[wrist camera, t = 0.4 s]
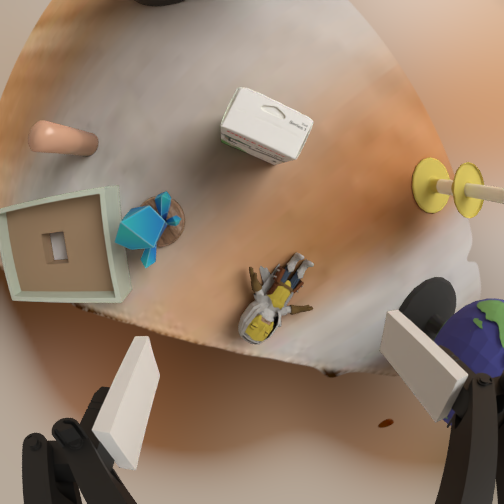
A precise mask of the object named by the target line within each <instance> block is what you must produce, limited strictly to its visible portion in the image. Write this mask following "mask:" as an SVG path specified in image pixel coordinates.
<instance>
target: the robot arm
mask: <svg viewBox="0 0 504 504" xmlns="http://www.w3.org/2000/svg"><path fill="white" fill-rule="evenodd" d="M135 1H136V2H138V3H141V4H144V5H151V6H160V5H168V4H173V3H177V2H181V1H184V0H135ZM380 352H381V353H382V354H383V355H384V357H385V358H386V359H387V360H388V362H389V363H390V364H391V365H392V367H393V368H394V369H395V370H396V372H397V373H398V374H399V376H400V377H401V378H402V379H403V381H404V382H405V383H406V384H407V386H408V387H409V388H410V390H411V391H412V392H413V394H414V395H415V396H416V397H417V399H418V400H419V401H420V403H421V404H422V405H423V407H424V408H425V409H426V410H427V412H428V413H429V415H430V416H431V417H432V418H433V420H434V421H435V422H438V421H440V420H442V419H444V418H446V417H447V416H448V414H449V412H450V410H451V409H453V411H454V412H455V413H454V414H453V416H452V418H451V420H450V421H449V423H448V425H447V428H448V427H449V426H450V424H451V423H452V425H451V434H450V440H449V447H448V452H447V458H446V463H445V467H444V472H443V477H442V480H441V485H440V489H439V492H438V495H437V499H436V502H435V504H492V501H493V494H494V488H495V479H496V484H497V496H498V504H504V370H503V372H502V374H501V376H498V377H494V378H492V377H491V376H490V375H488V374H486V373H477V374H475V373H474V372H473V371H472V370H471V369H470V368H469V367H468V366H467V365H466V364H465V363H464V362H463V361H461V360H459V358H458V357H457V356H456V355H454V353H453V352H452V351H451V350H450V349H448V348H446V347H444V346H442V345H439V346H438V345H437V344H436V343H435V342H434V341H432V340H431V339H430V338H429V337H428V336H427V335H426V334H425V333H424V332H423V331H421V330H420V329H419V328H418V327H417V326H416V325H415V324H414V323H412V322H411V321H410V320H409V319H408V318H407V317H406V316H405V315H403V314H402V313H401V312H400V311H399V310H398V309H397V310H392V311H387V314H386V320H385V326H384V331H383V336H382V341H381V346H380ZM159 377H160V374H159V371H158V368H157V365H156V361H155V358H154V355H153V351H152V348H151V344H150V340H149V337H148V336H136V337H135V338H134V340H133V342H132V344H131V346H130V348H129V350H128V352H127V354H126V356H125V358H124V360H123V362H122V364H121V366H120V368H119V370H118V372H117V374H116V377H115V379H114V381H113V383H112V385H111V387H110V388H109V387H101V388H100V389H99V390H98V391H97V392H96V393H95V394H94V396H93V398H92V400H91V403H90V404H89V406H88V409H87V410H86V412H85V414H84V416H83V418H82V420H81V423H80V424H79V423H78V422H77V421H76V420H75V419H73V418H63V419H60V420H59V421H57V422H56V423H55V424H54V425H53V428H52V435H53V437H54V438H55V439H56V441H47V439H46V438H45V437H44V436H43V435H42V434H40V433H32V434H30V435H28V436H27V437H26V438H25V439H24V442H23V449H22V451H23V452H22V479H23V496H24V504H82V501H81V497H80V492H79V488H80V491H81V493H82V494H83V497H84V498H85V500H86V502H87V504H137V503H136V502H135V500H134V499H133V497H132V496H131V495H130V493H129V492H128V490H127V489H126V487H125V486H124V484H123V483H122V481H121V480H120V479H119V477H118V475H117V474H116V472H115V470H114V469H113V464H114V461H115V463H116V464H117V465H118V466H119V468H125V469H131V470H136V468H137V463H138V459H139V454H140V450H141V446H142V442H143V438H144V433H145V430H146V425H147V421H148V418H149V414H150V410H151V406H152V403H153V399H154V395H155V392H156V388H157V384H158V380H159ZM78 486H79V487H78Z"/></svg>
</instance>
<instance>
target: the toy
mask: <svg viewBox="0 0 504 504" xmlns="http://www.w3.org/2000/svg"><path fill="white" fill-rule="evenodd" d="M303 259H304V256H303V255H301V254H299V253H295V254H294V256H293V257H292V258H291V260H290V261H289V263H287V266H286V267H285V268H284V269H283V268H282V267H281V266H279V264H278V266H277V267H276V268H275V270H274V271H273V272H272V274H270V272H269V271H268V269H267V267H266V268H263V267H262V266H260V272H261V276H262V280H263V283H264V285H263V286H261V284H260V283H259V281H258V280H257V274H256V273H254V272H253V268H252V267H249V273H250V277H251V286H252V290H253V291H254V292H255V293H254V294H253V295H254V298H255V300H254V301H253V302H252V303H250V304H249V306H248V307H247V308H246V310H245V311H244V313H243V314H242V315H241V318H240V321H239V325H238V332H239V335H240V336H241V337H242V338H243V339H244V340H245V341H247V342H248V343H250V344H261V343H262V342H264V341H265V340H267V339H268V338H270V337H271V336H272V334H273V333H274V332H275V330H276V329H277V327H281V316H282V315H287V313H290V314H292V315H293V314H296V313H300V312H306V311H310V310H313V307H312V306H311V307H309V305H306V306H294V305H290V306H286V305H287V303H288V302H289V300H290V299H291V297H292V296H293V294H294V293H295V292H298V291H297V290H298V289H299V288H300V287H303V286H302V285H303V284H304V283H303V282H302V281H301V280H300V279H301V278H303V275H304V273H305V271H306V269H307V268H308V267H313V266H314V263H312V262H311V261H309V260H307V259H306V260H305V261H303V262H302V264H301V266H300V267H299V269H297V271H296V273H295V274H294V276H293V277H292V278H291V279H290V280H287V278H288V276H289V275H290V273H291V272H292V271H294V270H293V269H294V268H295V265H296V264H297V262H298V261H299V260H303ZM286 280H287V281H286Z"/></svg>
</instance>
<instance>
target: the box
mask: <svg viewBox="0 0 504 504" xmlns="http://www.w3.org/2000/svg"><path fill="white" fill-rule="evenodd" d="M121 220H122V218H121V208H120V196H119V185H116V186H106V187H100V188H93V189H87V190H82V191H76V192H71V193H66V194H61V195H56V196H51V197H46V198H41V199H37V200H33V201H28V202H24V203H20V204H16V205H12V206H8V207H4V208H1V209H0V253H1V258H2V262H3V267H4V271H5V275H6V279H7V283H8V287H9V290H10V294H11V297H12V300H15V301H33V302H65V303H122V302H123V301H124V299H125V298H126V297H127V295H128V294H129V293H130V292H131V290H132V285H131V280H130V274H129V269H128V262H127V256H126V249H125V247H124V246H121V245H119V244H117V243H114V242H115V238H116V235H117V231H118V228H119V225H120V222H121ZM61 231H63V232H64V238H65V245H66V250H67V256H68V259H63V260H54V256H53V250H52V245H51V239H50V233H54V232H61Z"/></svg>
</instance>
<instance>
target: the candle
mask: <svg viewBox="0 0 504 504" xmlns="http://www.w3.org/2000/svg"><path fill="white" fill-rule="evenodd" d="M412 190H413V194H414V199H415V200H416V202H417V204H418V206H419V207H420V208H421V209H423V210H424V211H425V212H427V213H436V212H438V211H440V210H442V209H443V207H444V206H445V205H446V204H447V201H448V198H449V195H452V196H453V197H454V203H455V205H456V207H457V210H458V212H459V213H460V214H461V215H462V216H464V217H466V218H472V217H474V216H476V215H477V214H478V212H479V211H480V210H481V208H482V204H483V201H484V200H487V201H492V202H497V203H502V204H504V188H499V187H492V186H486V185H484V181H483V177H482V175H481V172H480V170H479V169H478V168H477V167H476V166H475V165H474V164H472V163H469V162H467V163H464V164H462V165H460V167H459V168H458V169H457V171H456V173H455V177H454V180H450V179H449V174H448V172H447V170H446V168H445V166H444V165H443V164H442V163H441V162H440V161H439V160H437V159H434V158H430V157H429V158H426V159H423V160H421V161H420V163H419V164H418V165H417V166H416V168H415V171H414V173H413V177H412Z"/></svg>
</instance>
